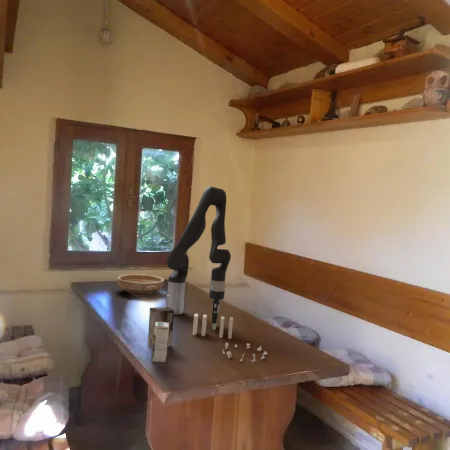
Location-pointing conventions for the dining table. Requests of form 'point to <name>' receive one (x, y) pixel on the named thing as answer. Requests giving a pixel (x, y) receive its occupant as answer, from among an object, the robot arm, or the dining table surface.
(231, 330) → the domino
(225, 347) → the game piece set
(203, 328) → the domino
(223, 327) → the domino
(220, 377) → the dining table surface
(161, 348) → the syrup box
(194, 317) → the domino
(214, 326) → the domino
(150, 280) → the ceramic bowl
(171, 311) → the coffee box
